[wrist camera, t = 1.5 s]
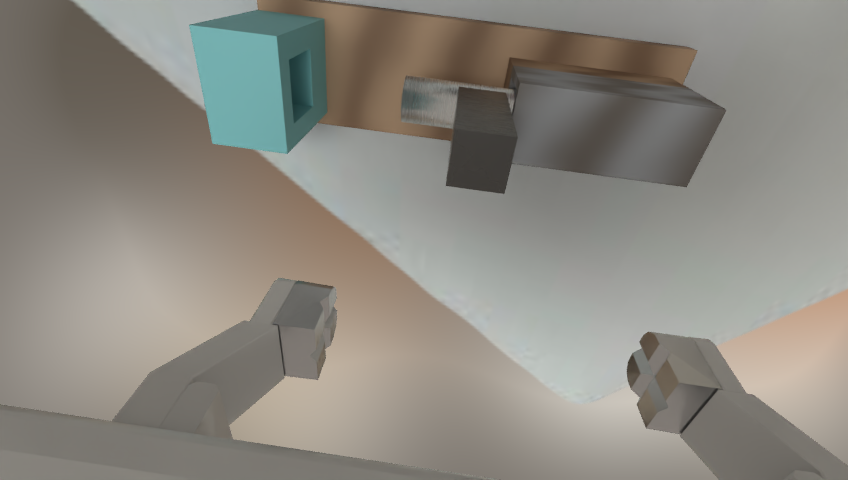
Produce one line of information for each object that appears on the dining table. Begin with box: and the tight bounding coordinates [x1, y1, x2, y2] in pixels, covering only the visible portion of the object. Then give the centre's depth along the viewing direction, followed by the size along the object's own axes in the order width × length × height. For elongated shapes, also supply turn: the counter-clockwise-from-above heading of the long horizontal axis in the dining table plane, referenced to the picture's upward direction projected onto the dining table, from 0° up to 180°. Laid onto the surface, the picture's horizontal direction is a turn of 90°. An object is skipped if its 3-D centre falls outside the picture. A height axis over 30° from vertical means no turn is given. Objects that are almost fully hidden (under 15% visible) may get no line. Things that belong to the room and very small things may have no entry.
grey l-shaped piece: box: [401, 75, 518, 194], centre depth 24 cm, size 18×3×10 cm, turn 84°
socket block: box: [189, 10, 327, 154], centre depth 29 cm, size 5×7×9 cm
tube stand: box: [257, 0, 726, 187], centre depth 29 cm, size 32×9×10 cm, turn 84°
